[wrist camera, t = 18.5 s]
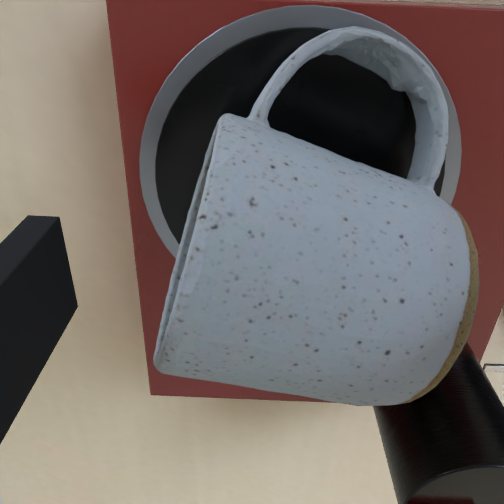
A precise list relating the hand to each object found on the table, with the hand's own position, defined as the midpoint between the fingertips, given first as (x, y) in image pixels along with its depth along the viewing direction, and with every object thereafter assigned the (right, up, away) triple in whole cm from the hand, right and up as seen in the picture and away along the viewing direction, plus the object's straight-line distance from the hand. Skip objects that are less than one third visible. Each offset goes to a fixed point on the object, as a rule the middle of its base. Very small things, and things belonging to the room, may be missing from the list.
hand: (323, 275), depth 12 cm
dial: (+6, -5, +10) cm, 13 cm away
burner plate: (0, +3, +6) cm, 7 cm away
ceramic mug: (0, +3, +5) cm, 6 cm away
